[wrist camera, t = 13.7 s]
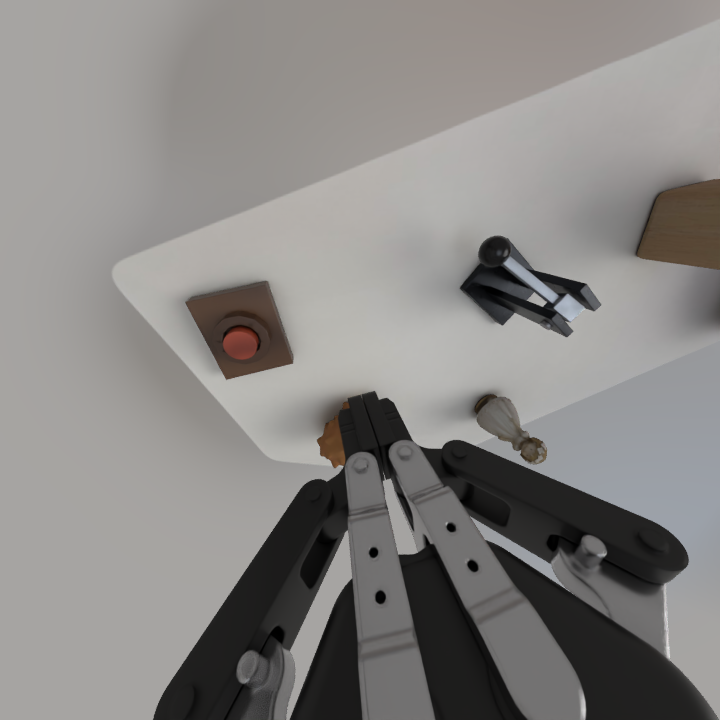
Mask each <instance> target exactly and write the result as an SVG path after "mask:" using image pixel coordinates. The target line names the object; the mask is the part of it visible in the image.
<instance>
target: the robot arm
mask: <svg viewBox="0 0 720 720" xmlns="http://www.w3.org/2000/svg"><path fill="white" fill-rule="evenodd" d="M348 402H349V407H350V408H347V409H343V410H340V412H339V415H338V423H339V428H340V433H341V439H342V444H343V449H344V454H345V464H344V467H343V469H342V470H341V472H340V473H339V474H338V475H336V476H335V477H334V478H332V479H331V480H329V481H327V482H326V481H324V480H322V479H315V480H312V481H309V482H308V483H306V484H305V485H304V486H303V487H302V488H301V489H300V491H299V492H298V494H297V495H296V497H295V498H294V500H293V501H292V503H291V504H290V505H289V507H288V508H287V510H286V512H285V513H284V515H283V516H282V518H281V519H280V521H279V522H278V524H277V525H276V526H275V528H274V529H273V531H272V532H271V534H270V535H269V537H268V538H267V540H266V541H265V543H264V544H263V546H262V547H261V548H260V550H259V552H258V553H257V554H256V556H255V557H254V559H253V560H252V562H251V563H250V565H249V566H248V568H247V569H246V571H245V572H244V574H243V575H242V577H241V578H240V580H239V581H238V583H237V584H236V586H235V587H234V589H233V590H232V591H231V593H230V595H229V596H228V597H227V599H226V600H225V602H224V603H223V605H222V606H221V608H220V609H219V611H218V612H217V614H216V615H215V617H214V618H213V620H212V621H211V623H210V624H209V626H208V627H207V629H206V630H205V632H204V633H203V634H202V636H201V637H200V639H199V640H198V642H197V643H196V645H195V646H194V648H193V649H192V651H191V652H190V654H189V655H188V657H187V659H186V660H185V661H184V663H183V664H182V666H181V667H180V669H179V670H178V672H177V673H176V674H175V676H174V677H173V679H172V680H171V682H170V684H169V685H168V686H167V688H166V690H165V691H164V693H163V695H162V697H161V699H160V701H159V703H158V706H157V709H156V711H155V714H154V719H153V720H286V713H287V707H288V702H289V698H290V696H291V692H292V689H293V685H294V681H295V663H294V660H293V657H292V654H291V653H290V649H291V647H292V645H293V643H294V641H295V639H296V637H297V635H298V632H299V630H300V628H301V626H302V624H303V622H304V620H305V618H306V615H307V613H308V611H309V609H310V607H311V605H312V602H313V600H314V598H315V596H316V594H317V592H318V590H319V588H320V586H321V584H322V581H323V579H324V577H325V575H326V573H327V571H328V569H329V566H330V564H331V562H332V560H333V558H334V556H335V554H336V552H337V549H338V547H339V545H340V543H341V541H342V539H343V537H344V533H345V532H346V531H347V530H348V533H349V544H350V555H351V567H352V579H351V580H350V581H349V582H348V584H347V585H346V586H345V587H344V589H343V590H342V592H341V593H340V595H339V596H338V598H337V600H336V602H335V604H334V607H333V609H332V612H331V614H330V617H329V619H328V622H327V625H326V628H325V630H324V632H323V635H322V638H321V640H320V643H319V646H318V648H317V651H316V653H315V656H314V658H313V661H312V663H311V666H310V669H309V671H308V674H307V676H306V679H305V682H304V684H303V687H302V689H301V692H300V695H299V697H298V700H297V702H296V705H295V708H294V710H293V713H292V715H291V718H290V720H719V719H718V717H717V715H716V714H715V713H714V711H713V710H712V708H711V707H710V706H709V704H708V703H707V701H706V700H705V699H704V697H703V696H702V695H701V693H700V692H699V691H698V690H697V688H696V687H695V686H694V685H693V684H692V683H691V681H690V680H689V679H688V678H687V677H686V676H685V675H684V674H683V673H682V672H681V671H680V670H679V669H678V668H677V667H676V666H675V665H674V664H673V663H672V662H671V661H670V652H669V634H668V619H667V618H668V617H667V601H666V585H667V584H668V583H669V582H670V581H671V580H672V579H673V578H675V577H676V575H678V574H679V573H680V572H681V571H682V570H684V569H685V568H686V567H687V565H688V561H689V559H688V555H687V552H686V550H685V548H684V547H683V545H682V544H681V543H680V541H679V540H678V539H677V538H676V537H675V536H674V535H673V534H671V533H670V532H669V531H668V530H666V529H665V528H663V527H662V526H660V525H658V524H657V523H655V522H653V521H651V520H648V519H646V518H644V517H641V516H639V515H636V514H634V513H632V512H629V511H627V510H624V509H622V508H620V507H618V506H615V505H613V504H611V503H608V502H606V501H603V500H601V499H599V498H596V497H594V496H592V495H589V494H587V493H585V492H582V491H580V490H578V489H575V488H573V487H571V486H568V485H566V484H564V483H561V482H559V481H556V480H554V479H551V478H549V477H547V476H545V475H542V474H540V473H538V472H535V471H533V470H531V469H528V468H526V467H524V466H521V465H519V464H516V463H514V462H512V461H509V460H507V459H504V458H502V457H500V456H497V455H495V454H493V453H491V452H488V451H486V450H484V449H481V448H479V447H476V446H474V445H472V444H469V443H467V442H464V441H461V440H452V441H449V442H447V443H446V444H445V445H444V446H443V448H442V449H428V448H424V447H421V446H419V445H417V444H416V443H415V442H414V441H413V440H412V438H411V436H410V434H409V432H408V430H407V428H406V426H405V424H404V422H403V420H402V418H401V417H400V414H399V412H398V411H397V408H396V406H395V404H394V403H393V402H392V401H390V400H389V399H388V398H384V399H381V400H379V399H378V397H377V394H376V392H375V391H373V392H369V393H365V394H362V397H361V395H358V396H354V397H350V398H348ZM383 472H384V474H383ZM384 475H385V478H386V480H387V479H390V478H391V480H392V483H393V485H394V491H395V495H396V497H397V500H398V502H399V504H400V507H401V509H402V511H403V514H404V516H405V518H406V521H407V523H408V525H409V528H410V530H411V532H412V535H413V537H414V540H415V544H416V547H417V550H418V553H416V554H412V555H398V552H397V548H396V543H395V539H394V534H393V530H392V525H391V521H390V516H389V512H388V508H387V505H386V500H385V493H384V487H383V481H384ZM470 516H471V517H473V518H474V519H476V520H477V521H479V522H481V523H482V524H484V525H486V526H488V527H489V528H491V529H493V530H494V531H496V532H498V533H499V534H501V535H503V536H505V537H506V538H508V539H510V540H511V541H513V542H515V543H516V544H518V545H520V546H521V547H523V548H525V549H526V550H528V551H530V552H531V553H533V554H535V555H537V556H538V557H540V558H542V559H543V560H545V561H547V562H548V563H550V564H551V565H552V569H553V571H554V573H555V575H556V577H557V578H558V580H559V581H560V582H561V583H562V584H563V585H564V587H565V588H566V589H568V590H569V591H571V592H572V593H573V594H572V593H571V592H569V591H568V590H566V589H565V588H563V587H562V586H560V585H559V584H557V583H556V582H554V581H552V580H550V579H549V578H548V577H546V576H545V575H543V574H542V573H540V572H539V571H537V570H536V569H534V568H533V567H531V566H530V565H528V564H527V563H525V562H523V561H522V560H521V559H519V558H517V557H516V556H514V555H513V554H511V553H510V552H508V551H507V550H505V549H504V548H502V547H500V546H498V545H496V544H494V543H492V542H489V541H487V540H485V539H484V538H483V536H482V535H481V533H480V532H479V530H478V529H477V527H476V525H475V524H474V522H473V521H472V519H471V518H470ZM575 595H576V596H575Z"/></svg>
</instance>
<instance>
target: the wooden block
mask: <svg viewBox="0 0 720 720" xmlns="http://www.w3.org/2000/svg"><path fill="white" fill-rule="evenodd" d="M637 257H639V258H642V259H648V260H655V261H662V262H669V263H676V264H683V265H690V266H697V267H704V268H711V269H718V270H720V179H714V180H709V181H705V182H701V183H697V184H692V185H688V186H684V187H680V188H675V189H671V190H668V191H665V192H663V193H661V194H660V195H659V196H658V197H657V199H656V202H655V204H654V207H653V210H652V213H651V216H650V219H649V221H648V224H647V227H646V230H645V233H644V235H643V238H642V241H641V244H640V247H639V249H638V252H637Z"/></svg>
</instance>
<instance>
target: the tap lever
mask: <svg viewBox="0 0 720 720" xmlns="http://www.w3.org/2000/svg"><path fill="white" fill-rule="evenodd" d="M510 254H511V244H510V242H509V240H508V239H507V238H505V237H503V236H492V237H490V238H488V239H486V240H485V241H484V242H483V243H482V245H481V246H480V248H479V252H478V257H479V260H480V262H481V263H482V264H483V265H484V266H486V267H490V268H494V267H498V266H500V265H501V266H503V267H504V268H505V269H506V270H508V271H509V272H510V273H511V274H513V275H514V276H515V277H516V278H518V279H519V280H520V281H521V282H523V283H524V284H525V285H526V286H528V287H529V288H530V289H531V290H533V291H534V292H535V293H536V294H538V295H539V296H540V297H541V298H543V299H544V300H545V301H546V302H547V303H546V304H545V305H544V306H543V307H544V308H546V309H549V310H551V311H554V312H556V313H558V314H559V315H560V316H561V318H562V319H563V320H564V321H567V322H571V321H572V320H573V319H574V318H575V317H577V316H578V315H579V314H580V313H581V312H582V311H583V310H584V309H585V307H584V306H583V305H582V304H580V303H579V302H578V301H577V300H575V299H574V298H573V297H572V296H570V295H569V294H568V293H555V292H554V291H553V290H551V289H550V288H549V287H548V286H546V285H545V284H544V283H543V282H541V281H540V280H539V279H538V278H536V277H535V276H534V275H533V274H531V273H530V272H529V271H528V270H526V269H525V268H524V267H523V266H522V265H520V264H519V263H518V262H517V261H515V260H514V259H513V258H512V257H510Z"/></svg>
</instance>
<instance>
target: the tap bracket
mask: <svg viewBox="0 0 720 720" xmlns="http://www.w3.org/2000/svg"><path fill="white" fill-rule="evenodd" d="M507 239H508V238H507ZM508 240H509V239H508ZM509 242H510V241H509ZM510 244H511V254H510V257H512V258H513V259H514V260H515V261H517V262H518V263H519V264H520V265H522V266H523V267H524V268H525V269H526V270H528V271H529V272H530V273H531V274H533V275H534V276H535V277H536V278H538V279H539V280H540V281H541V282H543V283H544V284H545V285H546V286H548V287H549V288H550V289H551V290H553V291H554V292H555V293H568V294H569V295H570V296H572V297H573V298H574V299H575V300H577V301H578V302H579V303H580V304H582V305H583V306H584V307H585V308H586V309H589V310H592V311H595V310H596V309H598V308H599V307H600V306H601V304H600V302H599V301H598V299H597V298H596V297H595V295H594V294H593V292H592V291H591V290H590V288H589V287H588V285H587V284H585V283H581V282H577V281H573V280H569V279H565V278H561V277H557V276H554V275H550V274H546V273H542V272H538V271H534V269H533V268H532V267H531V266H530V265H529V263H528V262H527V261H526V260H525V259H524V257H523V256H522V255H521V254H520V253H519V251H518V250H517V249H516V248H515V247H514V245H513V244H512V243H511V242H510ZM460 289H461V290H462V291H463V292H464V293H466V294H467V295H468V296H469V297H470V298H471V299H472V300H473V301H474V302H475V303H477V304H478V305H479V306H480V307H481V308H482V309H483V310H484V311H485V312H486V313H488V314H489V315H490V316H491V317H492V318H493V319H494V320H495V321H496V322H497V323H499V324H501V325H504V324H505V323H506V321H507V320H508V319H509V318H510V317H511V316H512V315H513V314H514V313H517V314H519V315H521V316H523V317H525V318H527V319H529V320H531V321H534V322H536V323H538V324H540V325H541V326H542V327H544V328H545V329H548V330H553V331H555V332H557V333H559V334H561V335H563V336H565V337H568V336H569V335H570V334H571V333H572V332H573V330H572V329H571V328H570V327H569V326H568V324H567V323H566V322H565V321H564V320H563V319H562V318H561V316H560V315H559V314H558V313H556V312H554V311H551V310H549V309H546V308H544V307H541V306H539V305H536V304H534V303H531V302H529V301H526V300H527V299H528V298H529V297H530V296H531V295H532V294H533V293H534V291H533V290H531V289H530V288H529V287H528V286H526V285H525V284H524V283H523V282H521V281H520V280H519V279H518V278H516V277H515V276H514V275H513V274H511V273H510V272H509V271H508V270H506V269H505V268H504V267H503V266H501V265H500V266H498V267H494V268H490V267H486V266H484V265H483V264H482V263H480V265H479V266H478V267H477V268H476V269H475V271H474V272H473V273H472V274H471V275H470V276H469V278H468V279H467V280H466V281H465V282H464V284H463V285H462V286H461V287H460Z"/></svg>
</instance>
